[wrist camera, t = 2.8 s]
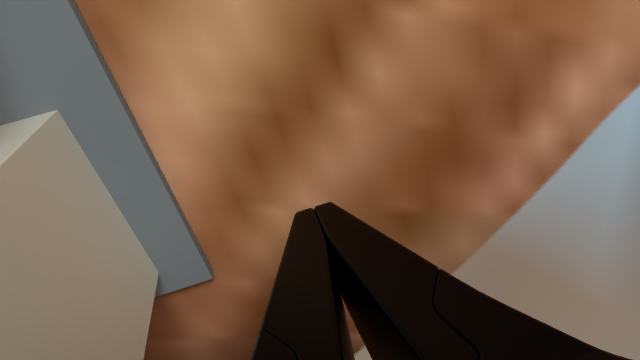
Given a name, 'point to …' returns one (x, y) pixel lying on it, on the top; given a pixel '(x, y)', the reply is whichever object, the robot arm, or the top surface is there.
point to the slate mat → (95, 127)
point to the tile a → (66, 253)
